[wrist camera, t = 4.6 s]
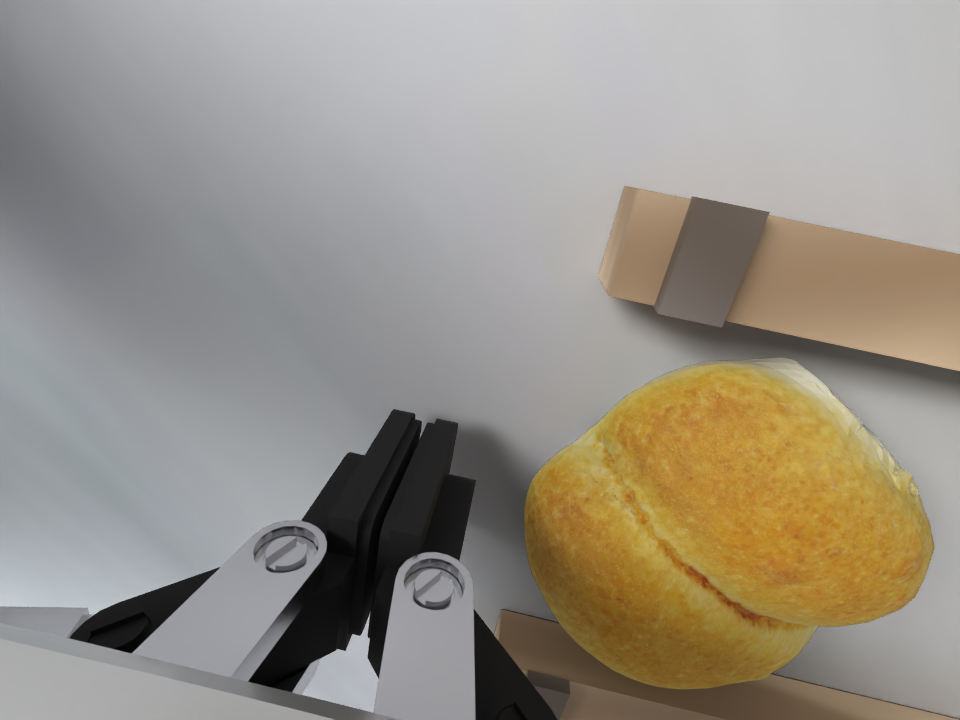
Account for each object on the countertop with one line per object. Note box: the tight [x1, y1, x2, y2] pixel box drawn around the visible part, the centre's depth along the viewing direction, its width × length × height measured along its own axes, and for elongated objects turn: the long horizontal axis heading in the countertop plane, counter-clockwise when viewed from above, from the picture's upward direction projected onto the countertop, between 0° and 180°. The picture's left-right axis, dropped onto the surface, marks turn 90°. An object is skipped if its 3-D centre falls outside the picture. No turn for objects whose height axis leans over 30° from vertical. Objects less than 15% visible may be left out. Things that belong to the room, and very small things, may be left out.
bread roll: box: [524, 357, 934, 689], centre depth 11 cm, size 8×9×4 cm
